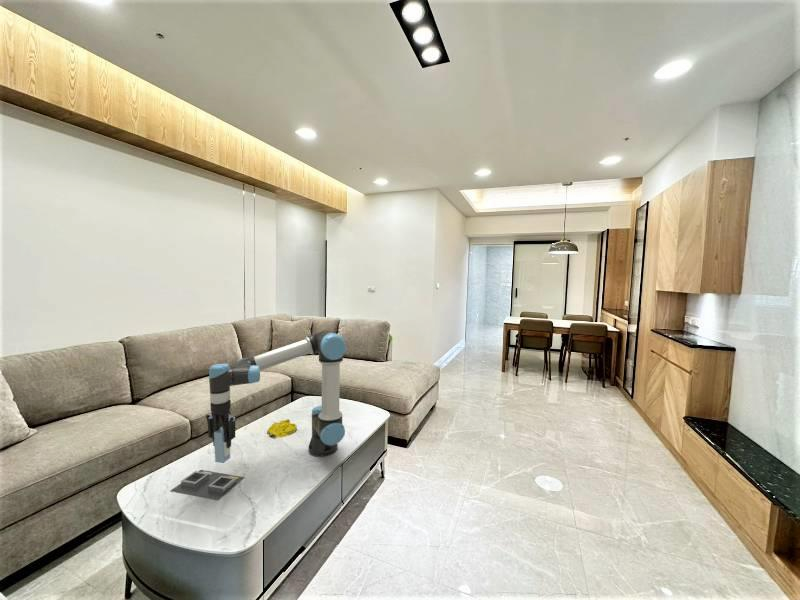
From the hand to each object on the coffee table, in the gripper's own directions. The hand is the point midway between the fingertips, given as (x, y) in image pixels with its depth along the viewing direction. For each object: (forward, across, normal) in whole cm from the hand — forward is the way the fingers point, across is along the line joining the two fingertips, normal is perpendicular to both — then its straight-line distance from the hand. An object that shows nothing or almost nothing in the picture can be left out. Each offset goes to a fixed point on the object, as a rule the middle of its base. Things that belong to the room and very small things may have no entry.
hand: (222, 453), depth 140 cm
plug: (+3, 0, 0) cm, 3 cm away
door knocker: (+17, +7, -54) cm, 57 cm away
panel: (+15, +7, 0) cm, 17 cm away
